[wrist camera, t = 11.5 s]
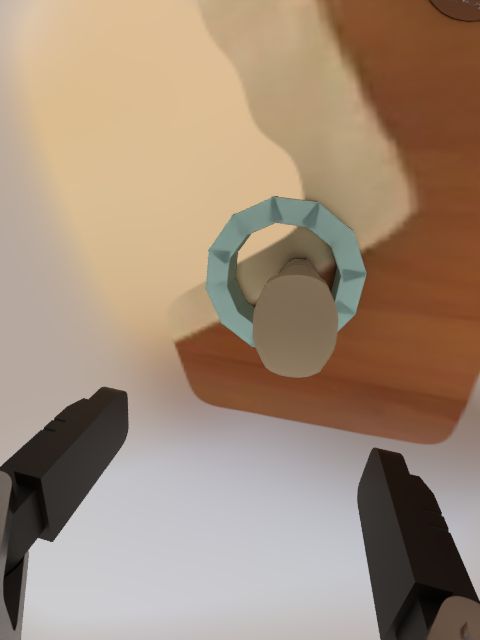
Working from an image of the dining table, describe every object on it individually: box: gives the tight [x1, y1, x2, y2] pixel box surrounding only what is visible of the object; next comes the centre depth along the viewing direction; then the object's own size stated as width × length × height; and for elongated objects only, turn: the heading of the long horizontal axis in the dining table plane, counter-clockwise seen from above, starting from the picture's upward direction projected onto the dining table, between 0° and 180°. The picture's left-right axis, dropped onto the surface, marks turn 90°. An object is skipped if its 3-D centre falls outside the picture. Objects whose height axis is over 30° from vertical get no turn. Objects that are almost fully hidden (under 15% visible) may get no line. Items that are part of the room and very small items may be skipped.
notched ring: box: [206, 196, 367, 347], centre depth 30 cm, size 14×14×4 cm
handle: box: [253, 258, 338, 377], centre depth 25 cm, size 5×6×15 cm
